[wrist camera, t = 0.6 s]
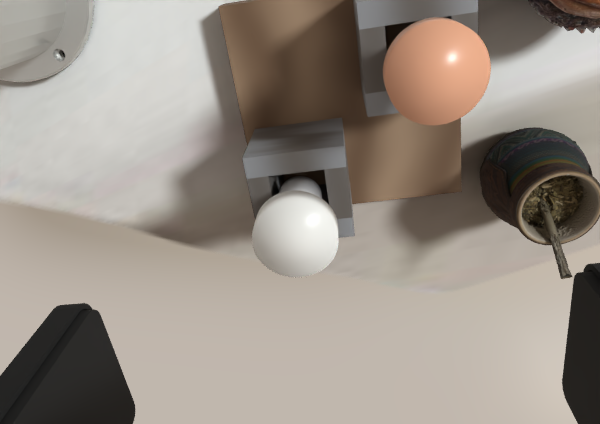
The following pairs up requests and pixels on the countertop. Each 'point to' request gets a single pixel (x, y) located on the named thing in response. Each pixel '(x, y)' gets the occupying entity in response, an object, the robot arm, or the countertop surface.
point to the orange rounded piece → (436, 71)
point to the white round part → (296, 230)
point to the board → (335, 101)
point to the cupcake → (570, 13)
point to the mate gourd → (541, 188)
